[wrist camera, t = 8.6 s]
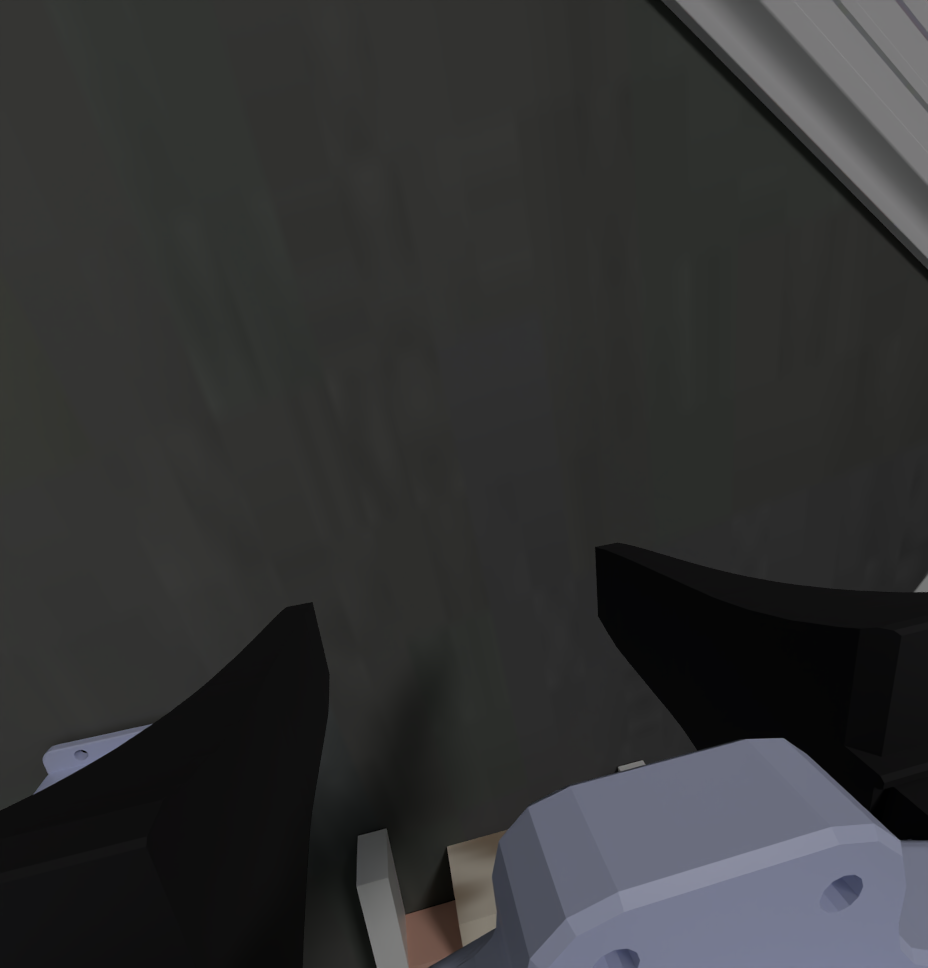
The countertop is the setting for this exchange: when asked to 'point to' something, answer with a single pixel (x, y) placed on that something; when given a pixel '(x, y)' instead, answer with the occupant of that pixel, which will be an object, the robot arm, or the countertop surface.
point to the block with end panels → (393, 935)
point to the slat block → (474, 885)
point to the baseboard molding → (838, 89)
